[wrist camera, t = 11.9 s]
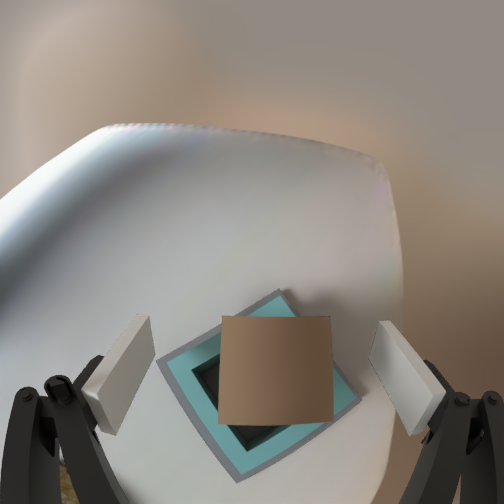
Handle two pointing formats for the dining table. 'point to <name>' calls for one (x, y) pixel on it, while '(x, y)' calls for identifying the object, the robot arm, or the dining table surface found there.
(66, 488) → the bread roll
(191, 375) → the teal square socket
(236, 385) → the walnut post
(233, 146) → the dining table surface
